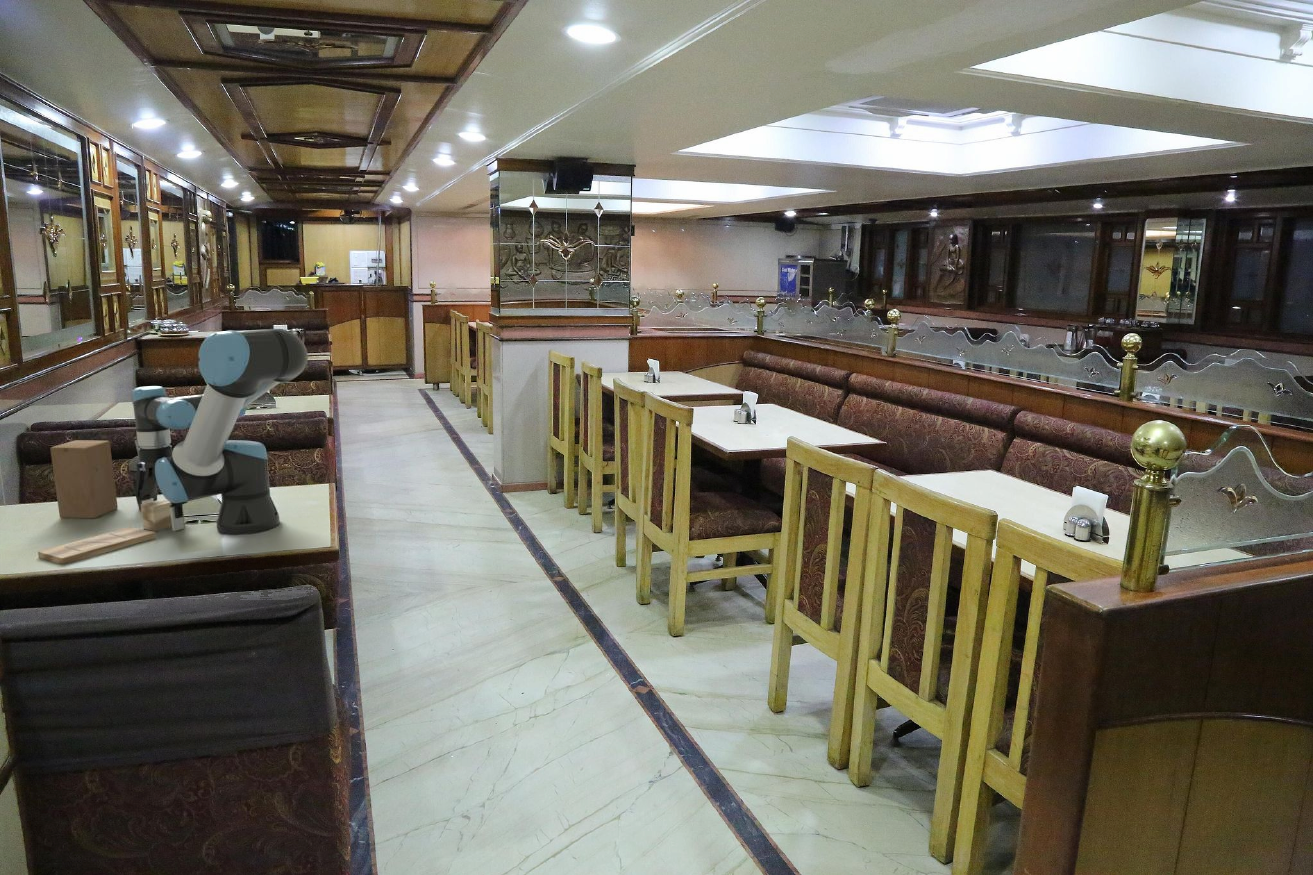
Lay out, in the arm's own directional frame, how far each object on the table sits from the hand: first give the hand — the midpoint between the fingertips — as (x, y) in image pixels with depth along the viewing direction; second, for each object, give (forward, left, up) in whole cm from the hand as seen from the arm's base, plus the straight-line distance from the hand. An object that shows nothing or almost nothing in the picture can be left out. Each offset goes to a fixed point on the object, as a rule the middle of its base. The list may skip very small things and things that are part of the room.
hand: (164, 526), depth 223 cm
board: (-2, +18, 0) cm, 18 cm away
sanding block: (0, 0, 0) cm, 0 cm away
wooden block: (+30, +2, 0) cm, 30 cm away
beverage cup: (+21, -9, 0) cm, 23 cm away
